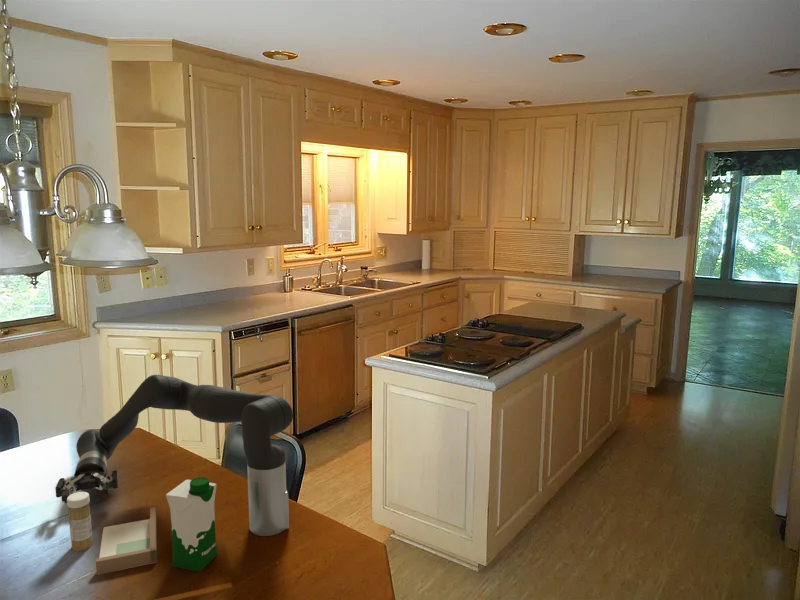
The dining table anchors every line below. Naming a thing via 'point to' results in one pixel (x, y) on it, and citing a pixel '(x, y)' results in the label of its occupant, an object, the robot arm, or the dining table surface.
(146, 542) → the pad
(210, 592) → the dining table surface
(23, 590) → the dining table surface
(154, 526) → the tray
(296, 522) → the dining table surface
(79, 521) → the sprinkles bottle
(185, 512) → the milk carton
